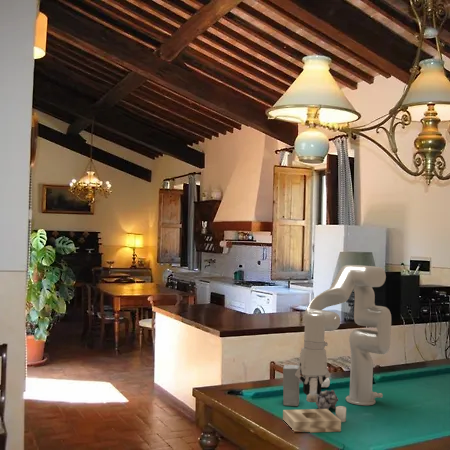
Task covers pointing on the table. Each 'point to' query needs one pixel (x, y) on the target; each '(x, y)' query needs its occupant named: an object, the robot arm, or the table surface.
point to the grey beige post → (312, 389)
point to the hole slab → (312, 420)
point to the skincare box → (290, 385)
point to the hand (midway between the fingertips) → (312, 393)
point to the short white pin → (341, 413)
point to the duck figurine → (326, 383)
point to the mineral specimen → (326, 399)
